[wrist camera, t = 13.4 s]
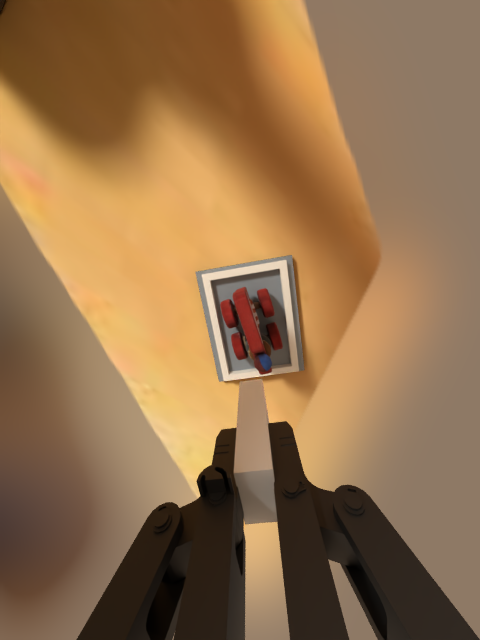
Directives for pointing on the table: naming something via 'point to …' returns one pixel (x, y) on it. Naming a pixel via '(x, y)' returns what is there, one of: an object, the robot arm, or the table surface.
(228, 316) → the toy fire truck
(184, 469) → the table surface
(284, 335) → the base board
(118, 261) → the table surface
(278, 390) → the table surface
